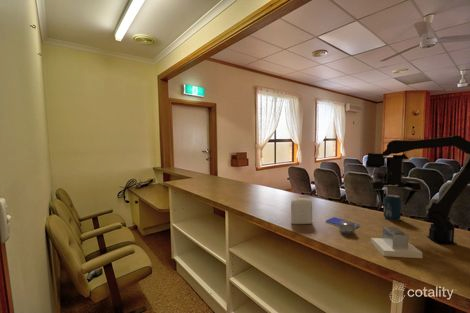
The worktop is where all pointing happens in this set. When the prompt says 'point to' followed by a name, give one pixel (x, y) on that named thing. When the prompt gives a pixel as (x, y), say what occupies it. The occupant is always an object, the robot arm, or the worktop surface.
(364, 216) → the worktop surface
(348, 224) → the tin
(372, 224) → the worktop surface
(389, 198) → the soda can
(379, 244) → the stand
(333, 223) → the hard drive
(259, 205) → the worktop surface
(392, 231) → the housing
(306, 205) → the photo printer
